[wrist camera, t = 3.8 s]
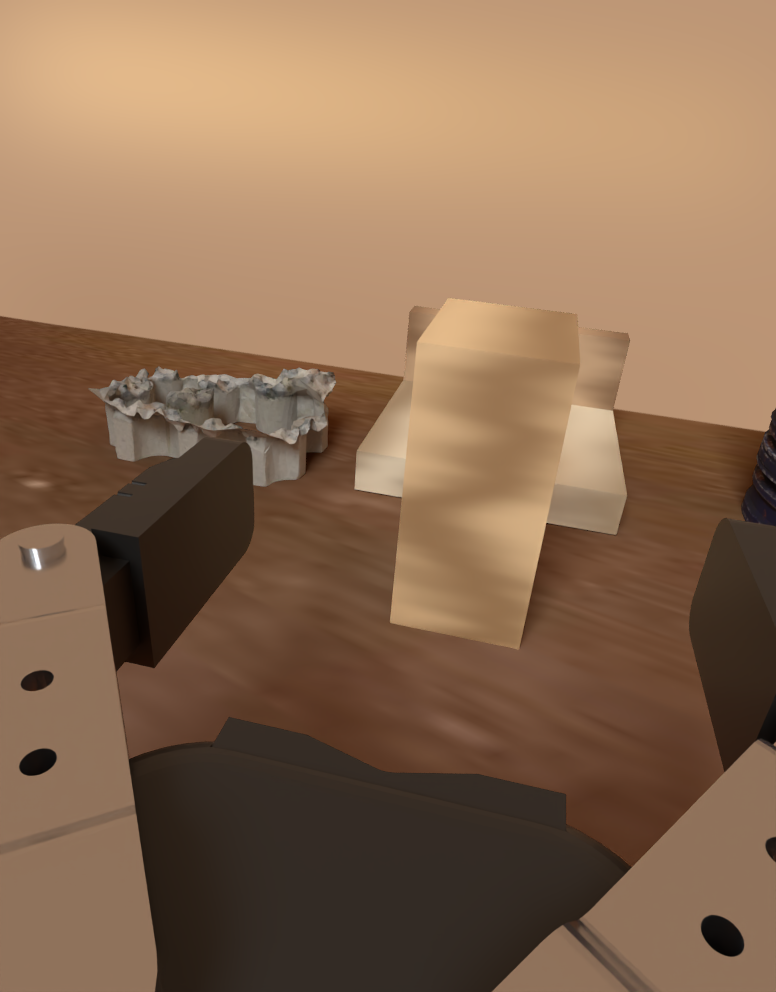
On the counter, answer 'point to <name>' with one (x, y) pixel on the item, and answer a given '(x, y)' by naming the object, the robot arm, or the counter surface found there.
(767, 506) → the storage jar
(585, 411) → the birch board
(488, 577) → the oak plank block
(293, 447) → the egg carton
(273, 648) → the counter surface
